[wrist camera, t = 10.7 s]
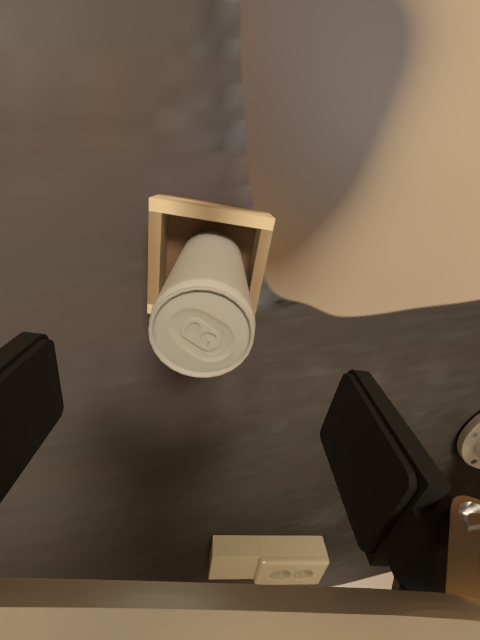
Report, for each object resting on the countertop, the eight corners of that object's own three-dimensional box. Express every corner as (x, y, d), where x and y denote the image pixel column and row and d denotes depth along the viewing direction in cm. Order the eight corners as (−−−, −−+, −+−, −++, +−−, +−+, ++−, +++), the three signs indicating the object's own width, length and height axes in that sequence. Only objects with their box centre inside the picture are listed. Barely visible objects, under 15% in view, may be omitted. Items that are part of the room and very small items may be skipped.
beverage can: (216, 298, 24) (210, 396, 14) (169, 262, 23) (122, 343, 12) (253, 256, 23) (280, 330, 12) (207, 215, 21) (191, 259, 11)
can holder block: (267, 211, 22) (275, 218, 19) (248, 304, 26) (253, 325, 22) (161, 193, 21) (149, 197, 18) (157, 293, 25) (147, 313, 21)
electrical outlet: (212, 564, 41) (330, 563, 43) (213, 532, 44) (322, 533, 46) (208, 586, 44) (318, 585, 46) (209, 555, 48) (311, 555, 50)
